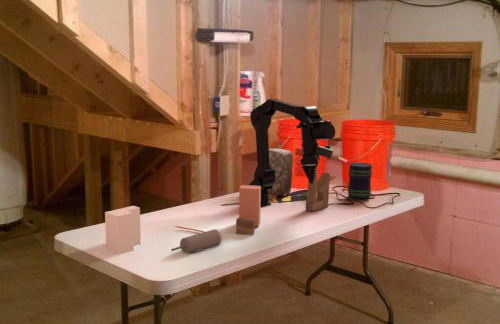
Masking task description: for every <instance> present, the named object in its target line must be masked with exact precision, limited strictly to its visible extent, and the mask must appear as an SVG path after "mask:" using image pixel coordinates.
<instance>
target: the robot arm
mask: <svg viewBox="0 0 500 324" xmlns="http://www.w3.org/2000/svg"><path fill="white" fill-rule="evenodd" d="M276 112H281V113H284V114H287V115H291V116H292V117H293V118H294V119H296V120H297V121H299V123H298V124H297V125H296V129H300V135H301V147H302V148H301V149H302V150H301V151H302V155H301V157H302V158H301V159H300V165H301V168H302V169H303V172H304V174H305V177H306V178H307V181H308V180H309V182H310V184H311V183H313V180H314V177H315V170H316V167H318V166H319V164H320V162H321V157H323V158H324V157H325V158H326V159H332V157H333V153H334V149H333V148H332V149H331V145H328V144H326V145H324V146H320V144H319V142H318V140H319V141H321V140H333V139H334V138H335V136H336V128H335V127H334V125H333V124H332V120H324V118H323V117H322V116H321V114H320V112H319V111H318V108H317V106H315V105H299V104H296V103H292V102H288V101H284V100H280V99H278V98H268V99H266V101H264V102H263V103H261V104H259V105H258V106H257V107H255V108H253V109H251V112H250V114H249V115H250V117H249V118H250V123H251V126H252V128H253V129H254V131H255V143H256V144H255V145H256V146H255V147H256V163H257V165H256V168H255V170H254V174H253V180H252V181H251V182H250V183H249V184H248V185H250V186H261V207H264V206H269V205H270V206H271V205H272V203H271V202H269V197H270V195H269V193H268V190H269V189H272V187H273V184H274V182H275V179H276V177H275V169H273V170H272V168H271V167H270V163H269V149H270V148H269V146H270V145H269V129H270V126H271V124H272V117H273V116H275V115H276Z"/></svg>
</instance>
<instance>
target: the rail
mask: <svg viewBox="0 0 500 324" xmlns="http://www.w3.org/2000/svg"><path fill="white" fill-rule="evenodd" d="M235 226H236V227H235V234H237V235H249V236H250V235H251V236H254V234H255V231H256V230H255V229H256V227H255V219H253V218H239V217H237V218H236V220H235Z"/></svg>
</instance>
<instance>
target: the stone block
mask: <svg viewBox="0 0 500 324" xmlns="http://www.w3.org/2000/svg"><path fill="white" fill-rule="evenodd" d="M269 163H270V167H271V168H272V170H273V169H275V177H276V179H275V182H274V184H273V187H272V189H269V190H268V194H273V195H276V196H278V195H284V194H289V193H290V194H291V191H292V185H293V184H292V183H293V180H292V179H293V166H294V164H293V163H294V156H293V152H292V151H291V150H288V149H283V148H269Z"/></svg>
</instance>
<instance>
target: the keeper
mask: <svg viewBox="0 0 500 324" xmlns="http://www.w3.org/2000/svg"><path fill="white" fill-rule="evenodd" d="M238 191H239V192H238V194H239V196H238V200H239V201H238V203H239V204H238V218H253V219H255V228H257V227H259V226H260V224H261V207H262V206H261V186H250V185H249V184H248V185H247V184H246V185H245V184H241V185H240V186H239V189H238Z"/></svg>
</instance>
